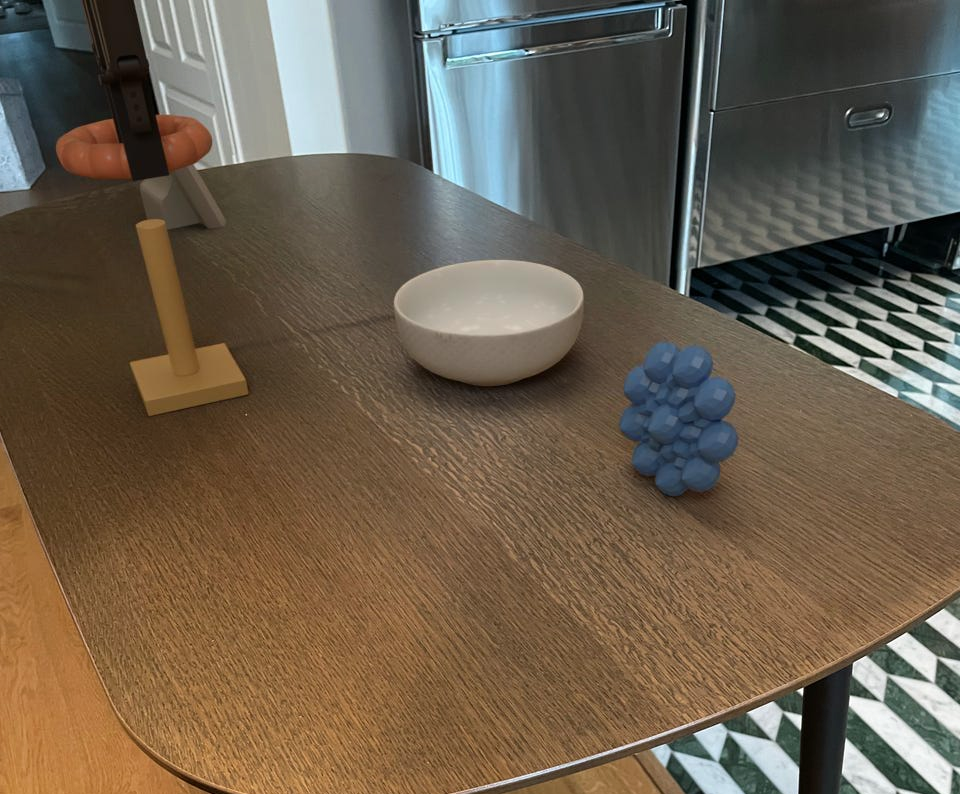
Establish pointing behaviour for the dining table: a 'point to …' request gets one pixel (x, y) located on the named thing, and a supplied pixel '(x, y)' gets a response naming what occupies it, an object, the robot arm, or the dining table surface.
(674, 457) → the grapes
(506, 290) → the cereal bowl
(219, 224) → the digital clock
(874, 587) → the dining table surface
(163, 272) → the peg stand
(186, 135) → the ring
